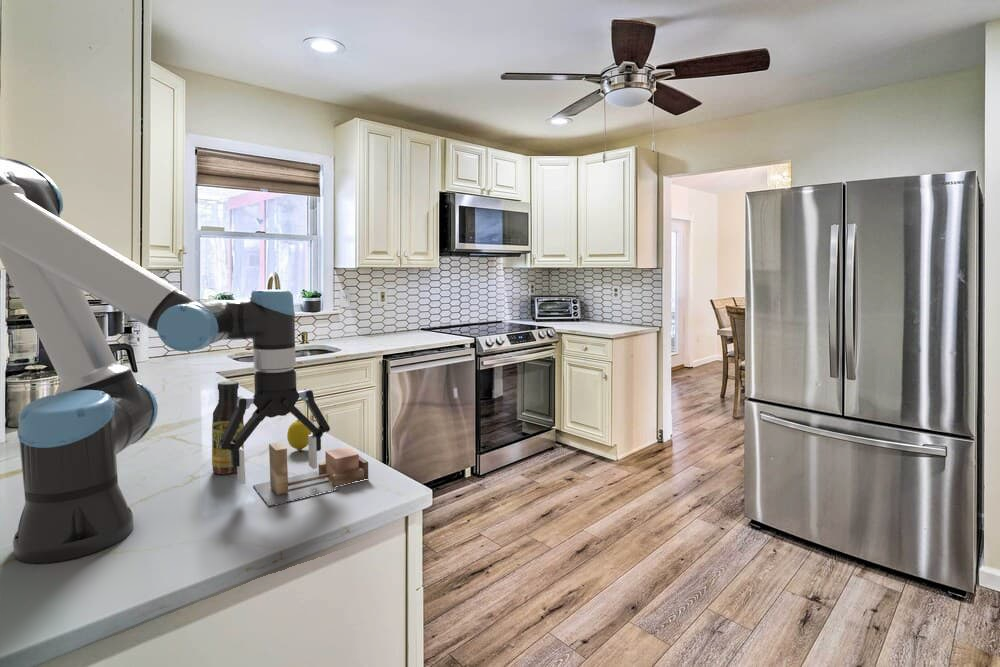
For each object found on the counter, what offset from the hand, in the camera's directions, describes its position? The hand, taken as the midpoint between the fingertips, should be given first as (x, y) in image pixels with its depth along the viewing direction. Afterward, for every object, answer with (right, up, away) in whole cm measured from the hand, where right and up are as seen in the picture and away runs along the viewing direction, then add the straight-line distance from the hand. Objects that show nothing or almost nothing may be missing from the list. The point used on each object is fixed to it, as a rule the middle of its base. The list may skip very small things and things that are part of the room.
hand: (278, 474), depth 104 cm
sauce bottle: (-16, -3, +12) cm, 20 cm away
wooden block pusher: (+6, -3, +5) cm, 8 cm away
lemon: (-5, -1, +25) cm, 26 cm away
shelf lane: (+5, -3, +5) cm, 8 cm away
